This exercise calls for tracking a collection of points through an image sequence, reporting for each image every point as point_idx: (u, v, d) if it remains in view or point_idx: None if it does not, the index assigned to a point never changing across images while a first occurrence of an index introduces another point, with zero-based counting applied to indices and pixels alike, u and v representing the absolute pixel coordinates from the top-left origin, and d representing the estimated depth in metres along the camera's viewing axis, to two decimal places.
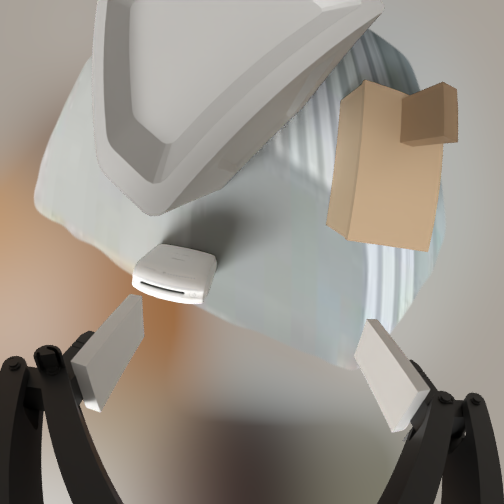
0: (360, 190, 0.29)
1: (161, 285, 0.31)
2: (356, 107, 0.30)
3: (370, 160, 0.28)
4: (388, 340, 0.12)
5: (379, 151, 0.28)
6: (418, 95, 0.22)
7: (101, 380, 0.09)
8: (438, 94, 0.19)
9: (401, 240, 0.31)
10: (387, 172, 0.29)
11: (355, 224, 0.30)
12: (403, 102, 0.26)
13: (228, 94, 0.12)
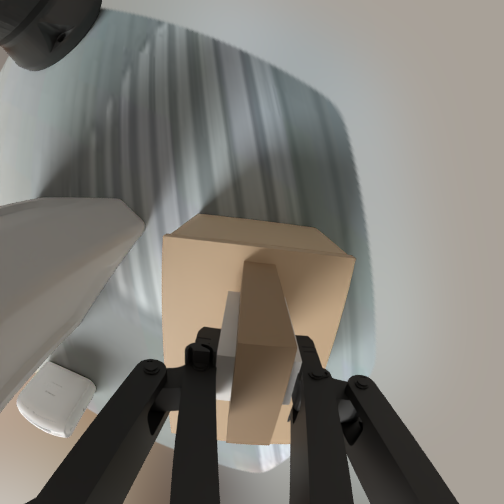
0: None
1: (33, 422, 0.22)
2: None
3: None
4: None
5: None
6: None
7: None
8: (235, 356, 0.10)
9: None
10: None
11: (176, 423, 0.22)
12: (242, 272, 0.17)
13: None
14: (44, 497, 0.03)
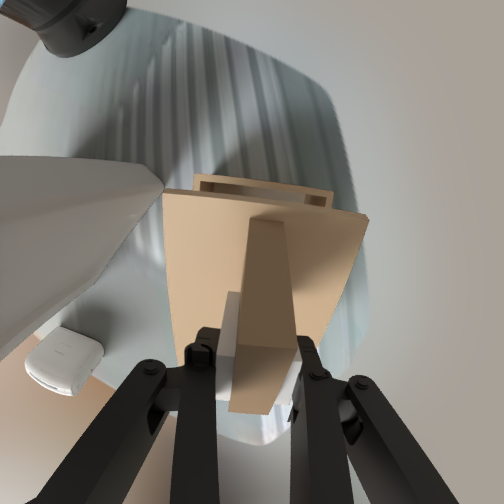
0: (181, 343, 0.23)
1: (40, 379, 0.26)
2: None
3: (188, 316, 0.21)
4: None
5: (201, 306, 0.20)
6: (244, 266, 0.13)
7: None
8: None
9: None
10: (219, 328, 0.22)
11: None
12: None
13: None
14: (44, 496, 0.03)
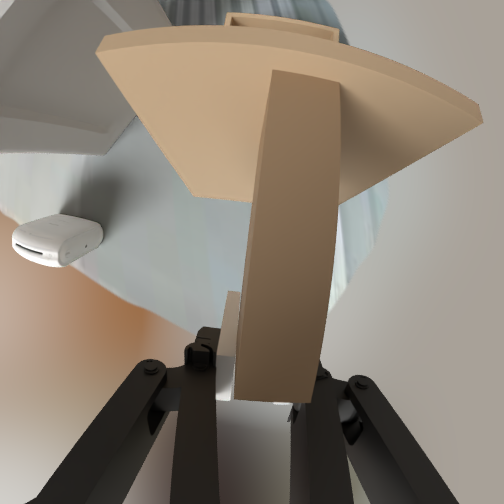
0: (189, 178, 0.19)
1: (25, 245, 0.24)
2: None
3: (191, 162, 0.16)
4: None
5: (206, 155, 0.14)
6: (255, 205, 0.07)
7: None
8: None
9: None
10: (233, 170, 0.17)
11: (197, 192, 0.23)
12: (268, 92, 0.07)
13: None
14: (44, 496, 0.03)
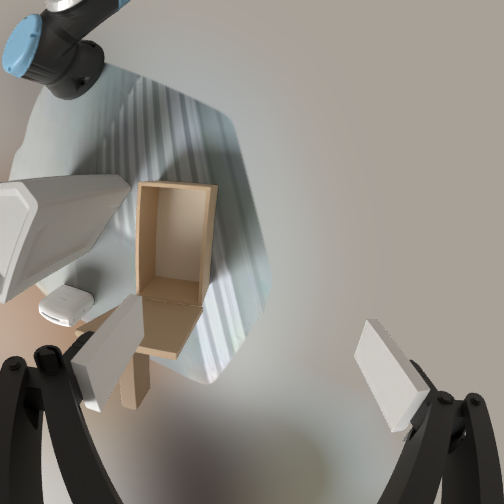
0: None
1: (49, 315, 0.45)
2: None
3: None
4: (388, 340, 0.12)
5: None
6: None
7: (101, 380, 0.09)
8: None
9: None
10: None
11: None
12: None
13: (9, 262, 0.26)
14: None
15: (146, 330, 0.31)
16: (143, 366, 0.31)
